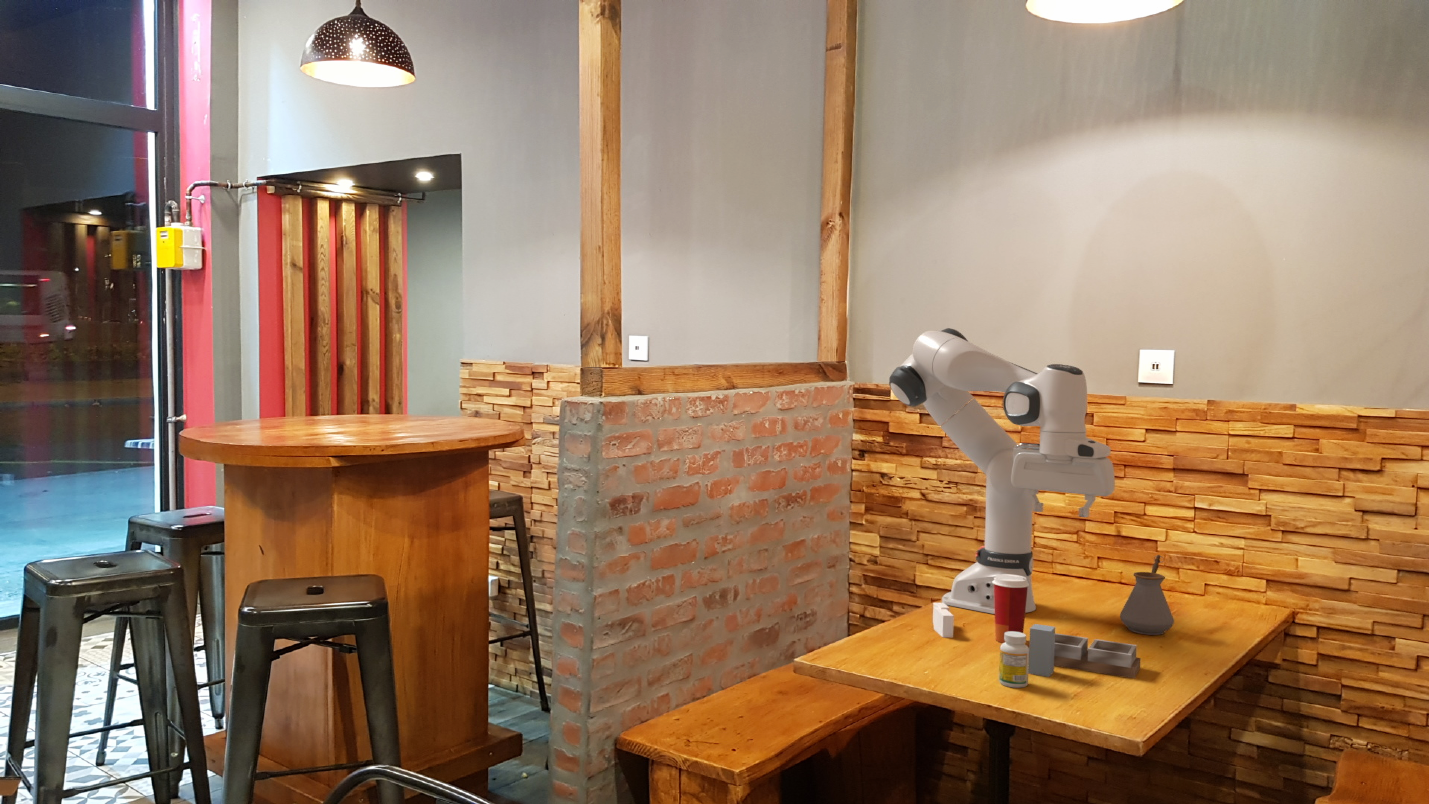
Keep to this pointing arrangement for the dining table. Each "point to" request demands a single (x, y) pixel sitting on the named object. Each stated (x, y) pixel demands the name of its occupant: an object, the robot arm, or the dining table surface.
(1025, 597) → the paper cup
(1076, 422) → the robot arm
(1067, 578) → the dining table surface
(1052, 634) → the gray rectangular block
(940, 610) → the white notched slab
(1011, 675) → the supplement bottle
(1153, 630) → the coffee pot
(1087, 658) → the two-compartment tray
